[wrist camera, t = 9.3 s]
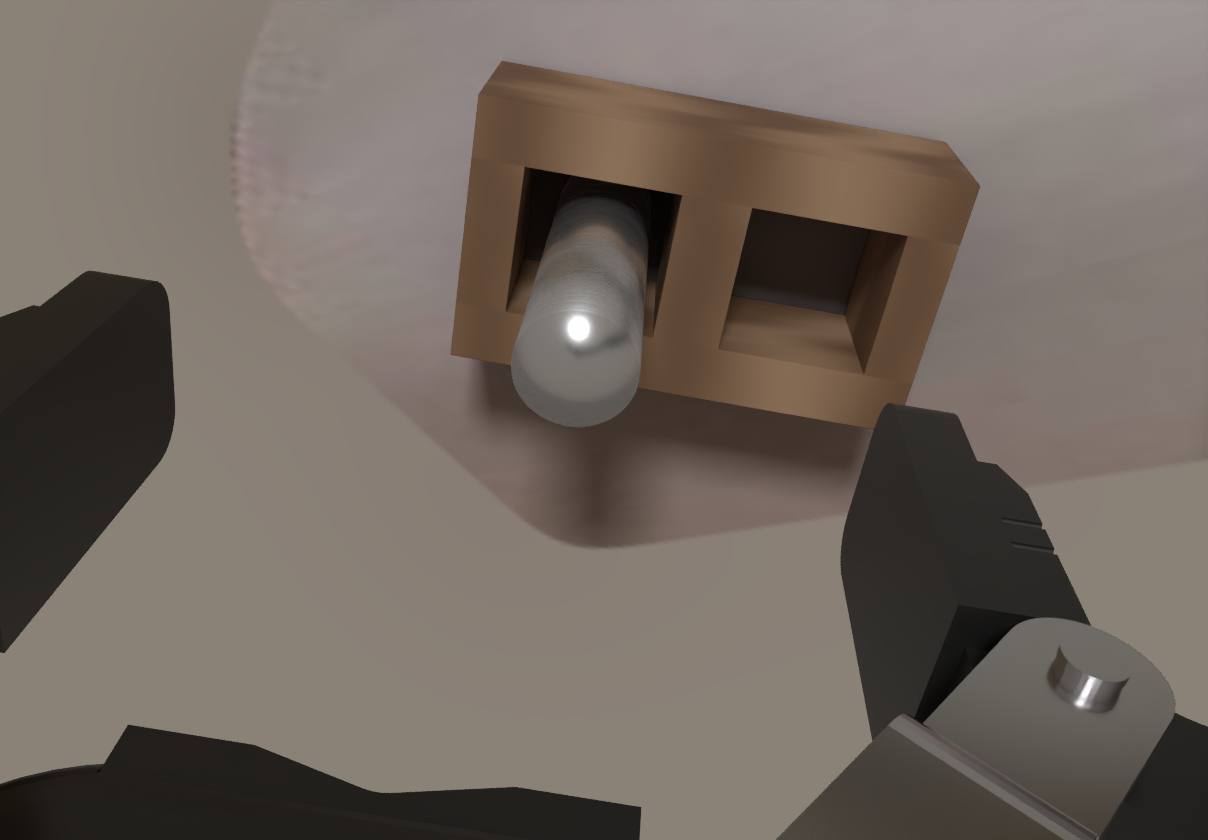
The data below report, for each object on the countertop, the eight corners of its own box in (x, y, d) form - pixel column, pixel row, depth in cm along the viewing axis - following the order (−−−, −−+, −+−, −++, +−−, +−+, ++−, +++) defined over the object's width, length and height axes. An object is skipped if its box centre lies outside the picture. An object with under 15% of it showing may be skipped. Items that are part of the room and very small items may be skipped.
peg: (659, 170, 35) (651, 324, 25) (642, 257, 37) (627, 436, 26) (567, 153, 35) (519, 300, 25) (553, 241, 37) (503, 415, 26)
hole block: (945, 142, 34) (980, 186, 30) (873, 368, 38) (895, 432, 34) (501, 60, 34) (478, 94, 30) (474, 297, 38) (450, 354, 34)
